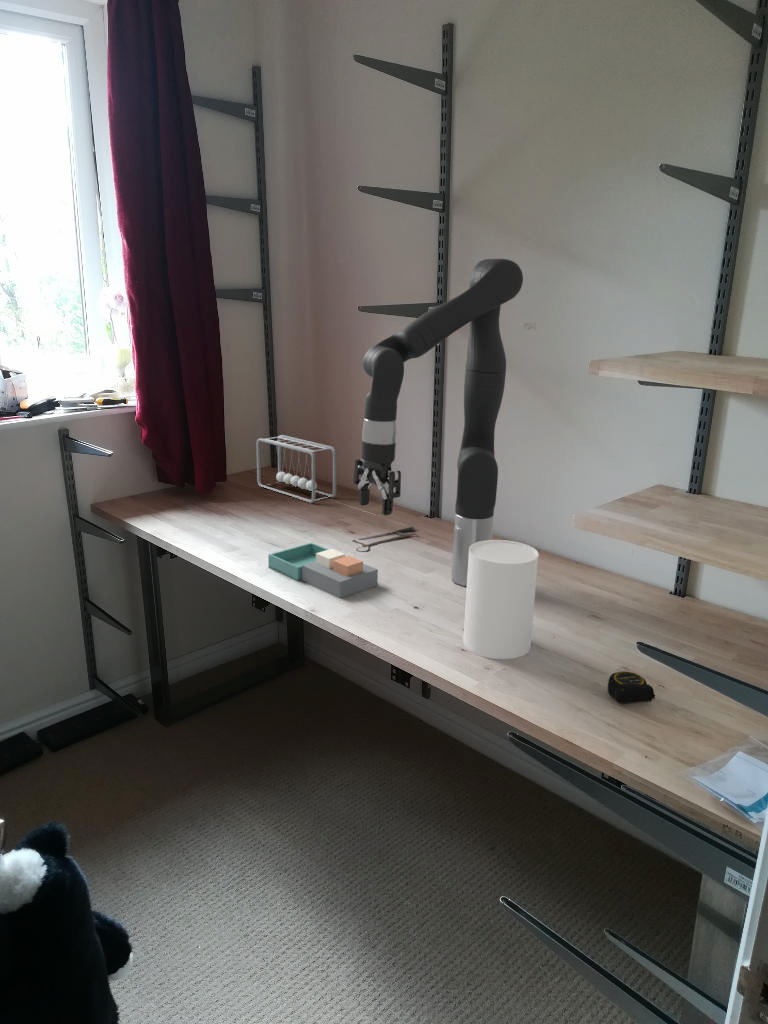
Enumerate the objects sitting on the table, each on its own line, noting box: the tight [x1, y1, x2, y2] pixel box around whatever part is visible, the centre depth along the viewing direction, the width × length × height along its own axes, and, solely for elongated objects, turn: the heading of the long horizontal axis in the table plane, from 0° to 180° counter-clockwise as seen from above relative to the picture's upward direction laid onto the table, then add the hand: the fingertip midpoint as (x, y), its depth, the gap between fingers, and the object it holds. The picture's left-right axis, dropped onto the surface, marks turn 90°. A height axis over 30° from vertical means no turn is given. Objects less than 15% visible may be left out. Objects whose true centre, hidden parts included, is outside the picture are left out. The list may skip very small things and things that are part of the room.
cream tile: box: [316, 548, 346, 569], centre depth 181 cm, size 5×5×2 cm
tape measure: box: [607, 670, 656, 705], centre depth 132 cm, size 7×7×4 cm
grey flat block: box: [301, 555, 379, 599], centre depth 179 cm, size 14×12×4 cm
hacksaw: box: [351, 526, 419, 553], centre depth 211 cm, size 24×10×2 cm, turn 122°
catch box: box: [267, 542, 330, 582], centre depth 189 cm, size 12×14×4 cm
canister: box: [462, 539, 540, 660], centre depth 149 cm, size 14×14×20 cm
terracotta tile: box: [333, 555, 364, 576], centre depth 176 cm, size 5×5×2 cm
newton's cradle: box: [255, 434, 337, 504], centre depth 253 cm, size 30×10×18 cm, turn 47°
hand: (375, 509), depth 168 cm, fingers open, 8 cm apart
